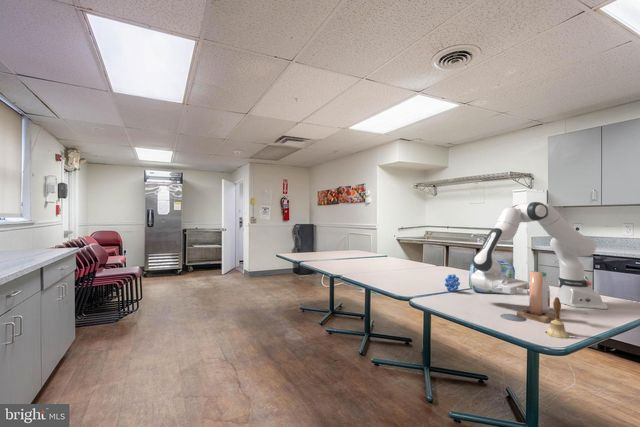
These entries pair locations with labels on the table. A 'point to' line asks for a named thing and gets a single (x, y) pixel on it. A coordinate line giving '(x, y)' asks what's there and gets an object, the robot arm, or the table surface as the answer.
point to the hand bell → (557, 323)
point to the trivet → (513, 317)
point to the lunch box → (505, 272)
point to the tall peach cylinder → (536, 293)
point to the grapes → (452, 283)
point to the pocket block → (536, 316)
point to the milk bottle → (545, 294)
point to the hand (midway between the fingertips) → (531, 290)
